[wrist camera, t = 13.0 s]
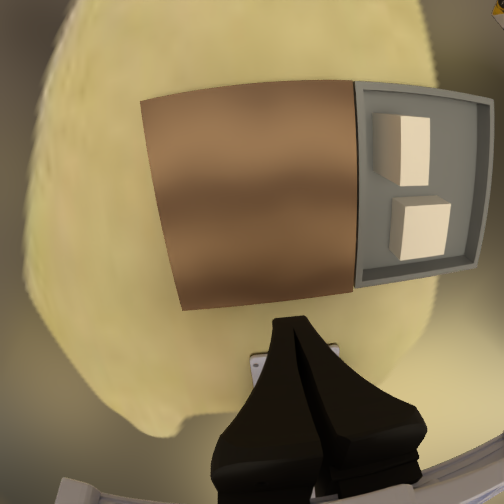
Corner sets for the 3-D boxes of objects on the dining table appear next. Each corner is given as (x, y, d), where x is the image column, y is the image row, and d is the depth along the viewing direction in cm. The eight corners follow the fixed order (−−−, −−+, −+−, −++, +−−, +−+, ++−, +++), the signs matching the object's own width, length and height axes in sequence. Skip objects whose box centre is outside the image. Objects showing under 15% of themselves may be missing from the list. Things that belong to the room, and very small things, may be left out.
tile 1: (373, 171, 20) (398, 170, 20) (400, 186, 16) (428, 185, 16) (372, 112, 18) (398, 113, 18) (400, 115, 14) (429, 118, 14)
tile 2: (400, 260, 20) (388, 248, 22) (443, 254, 20) (431, 243, 22) (405, 206, 19) (392, 197, 20) (451, 203, 19) (436, 195, 20)
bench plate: (343, 275, 23) (352, 291, 21) (186, 292, 24) (182, 310, 21) (339, 83, 17) (352, 80, 15) (151, 101, 17) (140, 101, 15)
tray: (464, 257, 23) (476, 267, 22) (346, 274, 23) (354, 288, 22) (477, 97, 17) (493, 99, 15) (344, 83, 17) (354, 81, 16)
